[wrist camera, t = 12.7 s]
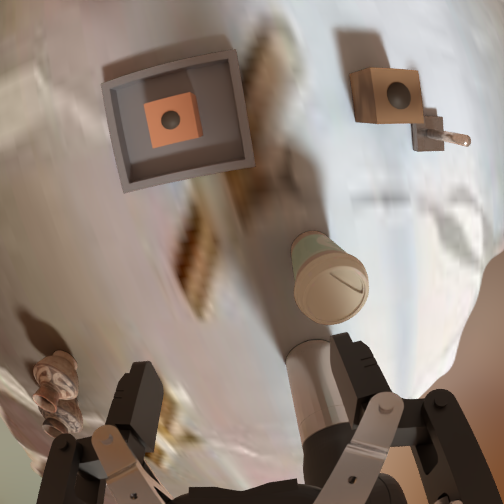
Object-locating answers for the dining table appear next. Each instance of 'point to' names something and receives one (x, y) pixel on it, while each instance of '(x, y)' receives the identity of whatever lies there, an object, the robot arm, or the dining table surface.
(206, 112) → the tray
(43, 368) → the pottery
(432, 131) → the pin gauge stand
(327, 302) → the coffee cup
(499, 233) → the dining table surface
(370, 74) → the block
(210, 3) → the dining table surface
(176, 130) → the block
